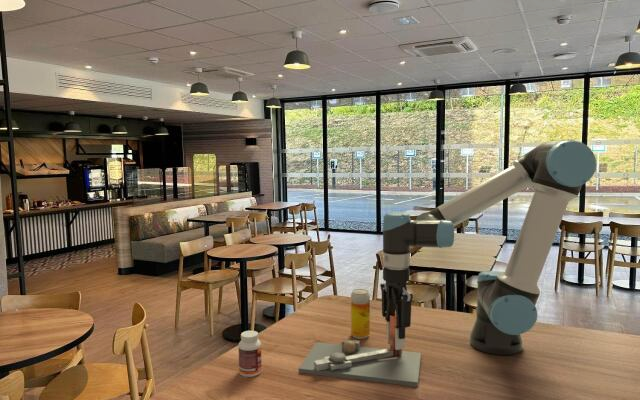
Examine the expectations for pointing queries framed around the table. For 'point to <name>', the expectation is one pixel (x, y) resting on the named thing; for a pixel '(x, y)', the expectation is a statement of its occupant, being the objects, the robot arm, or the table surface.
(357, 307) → the beer can
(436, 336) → the table surface
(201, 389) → the table surface
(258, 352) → the pill bottle
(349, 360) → the lever
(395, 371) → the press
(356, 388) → the table surface
